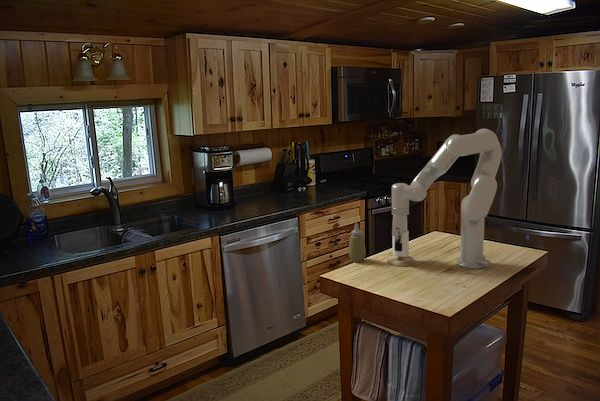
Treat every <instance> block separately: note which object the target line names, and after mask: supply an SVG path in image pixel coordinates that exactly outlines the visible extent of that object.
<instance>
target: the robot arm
mask: <svg viewBox="0 0 600 401" xmlns="http://www.w3.org/2000/svg"><path fill="white" fill-rule="evenodd" d="M475 154H479V156H478V157H479V158H478V162H477V165H476V168H475V170H474V172H473V175H472V177H471V180H470V186H471V190H470V192H469V194H468V195H465V196H464V198H463V199H462V200H461V205H460V213H461V214H460V215H461V216H460V218H461V226H460V227H461V229H460V258H458V259H457V260H456V264H457V265H458V266H459V267H461V268H465V269H472V270H473V269H474V270H476V269H483V268H485V267H489V266H490V264H491V260H490V259H486V255H485V254H484V245H485V244H484V243H485V242H484V240H485V218H487V216H488V214H489V211H490V208H491V206H492V204H493V201H494V199H495V196H496V192H497V189H498V182H497V180H496V177H497V173H498V170H499V167H500V164H501V160H502V147H501V144H500V141H499V139H498V136H497V135H496V133H495V132H494V131H492V130H491V129H488V128H480V129H478V130H477V131H475V132H474V133H469V134H462V135H461V134H456V133H455V134H451V135H450V136H449V137H448V138H447V139H445V141H444V142H443V143H442V145H441V146H440V147H439V149H438V150H437V151H436V152H435V154H434V155H433V156H432V157H431V158H430V160H429V161H428V162H427V163H426V165H425V166H424V167H423V168H422V170H421V171H420V172H419V173H418V174H417V175H416V177H415V178H414V179H413V180H412V181H411V183H410V185H409V184H407V183H405V182H397V183H394V184H392V185H391V215H392V223H391V224H392V228H391V236H395V251H402V243H401V241H402V237H403V235H404V232H405V231H406V230H408V216H409V215H410V201H413V202H422V201H423V200H425V198H426V197H427V194H428V192H427V190H428V189H429V188H430V187H431V186H432V184H433V183H434V182H435V181H436V180H437V179H438V178H439V177H441V176H442V175H444V174H446V173H447V171H448V170H449V169H450V168H451V167H452V166H453V164H454V163H455V162H456V161H457V159H458V158H459V157H464V156H471V155H475ZM399 233H400V234H401V236H398V235H399ZM399 237H400V239H399Z"/></svg>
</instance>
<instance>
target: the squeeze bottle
mask: <svg viewBox="0 0 600 401" xmlns="http://www.w3.org/2000/svg"><path fill="white" fill-rule="evenodd" d="M366 251H367V250H366V244H365V236H364V235H363V231H362V230H360V226H359V223H358V222H357V223H356V222H355V224H354V229H353V230H351V235H350V236H349V245H348V254H349V257H350V261H352V262H354V263H361V262H364V260H365V257H366V255H367V252H366Z"/></svg>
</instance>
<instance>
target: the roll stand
mask: <svg viewBox="0 0 600 401" xmlns="http://www.w3.org/2000/svg"><path fill="white" fill-rule="evenodd" d="M414 259H415V258H414V257H412V256H410V255H407V256H402V257H400V256H394V255H393V254H392V255H389V256H388V257H386V263H387V264H388V265H390V266H391V267H392V266H393V267H400V268H401V267H403V268H404V267H410V266H412V265H413V264H414V262H415V260H414Z"/></svg>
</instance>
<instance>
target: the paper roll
mask: <svg viewBox="0 0 600 401" xmlns="http://www.w3.org/2000/svg"><path fill="white" fill-rule="evenodd" d="M409 233H410V231H409V230H408V229H407V230H406V231H405V232H404V235H403V237H402V241H401V243H402V251H395V236H392V235H391V236H392V242H391V243H392V256H393V255H394V256H400V257H402V256H409V253H410V252H409V250H410V249H409V240H410V239H409V238H410V237H409ZM398 236H401V234H400V233H399V235H398ZM399 239H400V237H399Z"/></svg>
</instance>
